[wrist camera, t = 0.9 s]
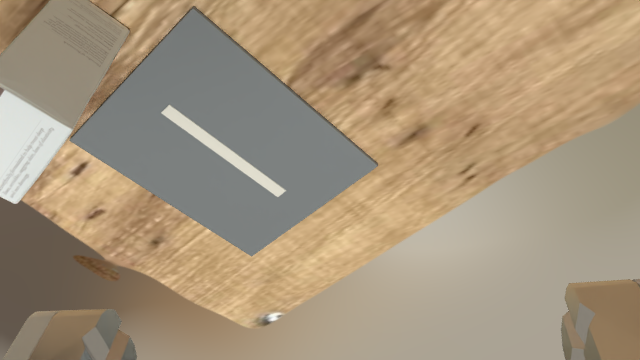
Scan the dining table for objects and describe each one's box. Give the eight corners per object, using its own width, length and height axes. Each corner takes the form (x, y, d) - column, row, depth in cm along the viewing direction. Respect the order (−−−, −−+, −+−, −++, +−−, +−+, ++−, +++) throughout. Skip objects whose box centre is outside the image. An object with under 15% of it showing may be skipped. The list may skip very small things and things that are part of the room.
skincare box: (84, 93, 50) (18, 212, 39) (15, 51, 47) (-77, 166, 36) (134, 24, 46) (78, 135, 35) (62, -26, 43) (-24, 77, 32)
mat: (70, 137, 53) (69, 141, 53) (193, 6, 45) (192, 8, 45) (251, 253, 63) (251, 257, 63) (377, 163, 55) (378, 166, 55)
